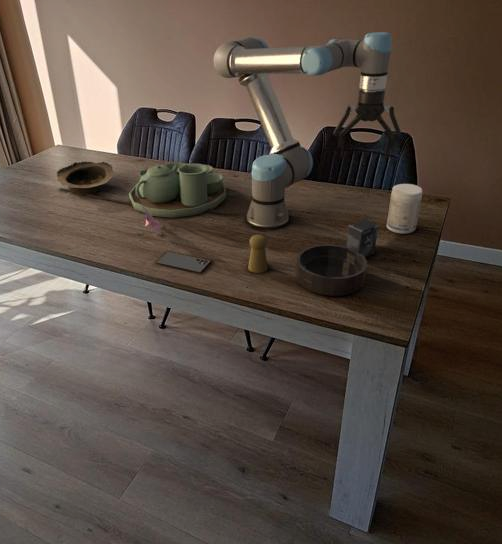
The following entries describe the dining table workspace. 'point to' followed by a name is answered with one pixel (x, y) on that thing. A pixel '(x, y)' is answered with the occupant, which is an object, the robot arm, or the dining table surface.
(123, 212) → the dining table surface
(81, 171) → the stone bowl
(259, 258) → the cork
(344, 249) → the bowl
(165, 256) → the smartphone
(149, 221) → the lily
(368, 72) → the robot arm
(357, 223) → the box
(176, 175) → the tea set
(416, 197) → the supplement tub
